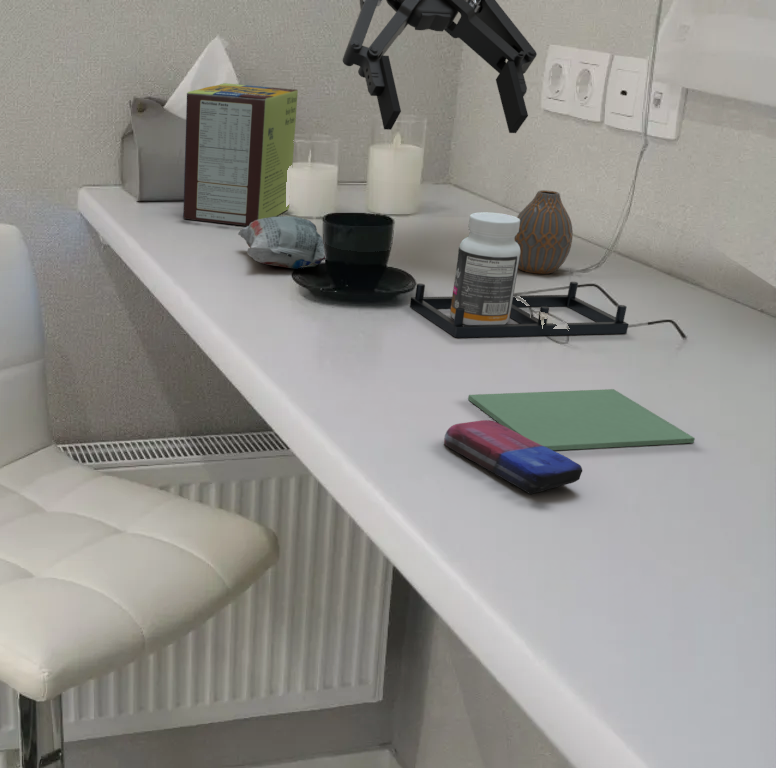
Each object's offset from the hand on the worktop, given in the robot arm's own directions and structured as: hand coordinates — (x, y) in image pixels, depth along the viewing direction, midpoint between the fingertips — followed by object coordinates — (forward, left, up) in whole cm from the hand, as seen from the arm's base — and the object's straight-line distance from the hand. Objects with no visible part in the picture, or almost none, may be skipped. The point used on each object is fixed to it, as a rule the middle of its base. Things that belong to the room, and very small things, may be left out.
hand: (456, 122), depth 115 cm
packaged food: (+13, -14, -17) cm, 25 cm away
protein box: (+10, -42, -17) cm, 46 cm away
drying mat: (+5, +37, -17) cm, 41 cm away
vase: (-17, -10, -17) cm, 26 cm away
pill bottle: (0, +10, -17) cm, 20 cm away
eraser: (+15, +45, -17) cm, 51 cm away
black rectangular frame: (-4, +10, -17) cm, 20 cm away
